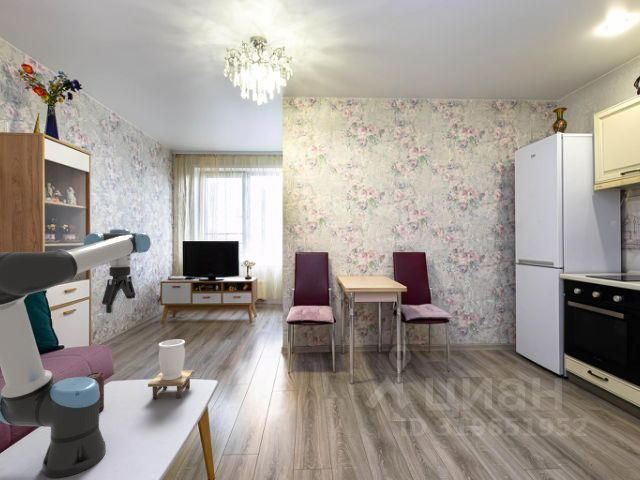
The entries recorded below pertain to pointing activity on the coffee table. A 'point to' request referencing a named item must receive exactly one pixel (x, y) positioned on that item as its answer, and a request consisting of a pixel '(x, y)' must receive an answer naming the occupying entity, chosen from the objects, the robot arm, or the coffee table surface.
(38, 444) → the coffee table surface
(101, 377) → the can
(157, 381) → the stool
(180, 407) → the coffee table surface
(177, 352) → the jar
